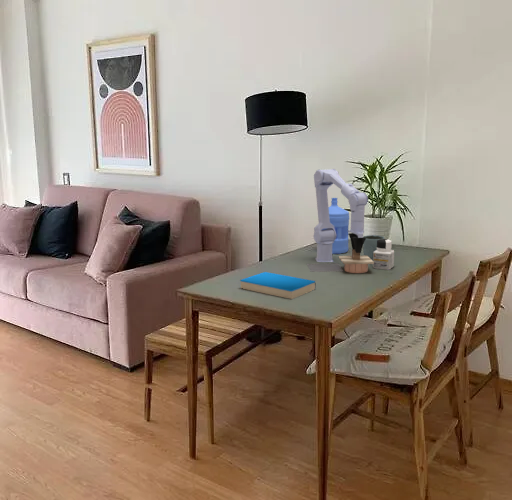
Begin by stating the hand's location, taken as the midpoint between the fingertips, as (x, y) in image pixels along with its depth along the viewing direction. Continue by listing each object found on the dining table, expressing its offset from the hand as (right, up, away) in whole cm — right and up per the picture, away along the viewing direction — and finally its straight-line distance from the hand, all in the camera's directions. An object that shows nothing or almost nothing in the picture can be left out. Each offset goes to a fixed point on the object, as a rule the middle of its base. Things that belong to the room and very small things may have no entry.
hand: (356, 250), depth 235 cm
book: (-36, -16, -24) cm, 46 cm away
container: (+14, -8, +9) cm, 18 cm away
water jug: (-4, 0, +45) cm, 45 cm away
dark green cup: (+12, -5, +21) cm, 24 cm away
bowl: (0, -9, +2) cm, 9 cm away
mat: (-13, -8, +8) cm, 17 cm away
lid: (0, -4, +1) cm, 4 cm away
